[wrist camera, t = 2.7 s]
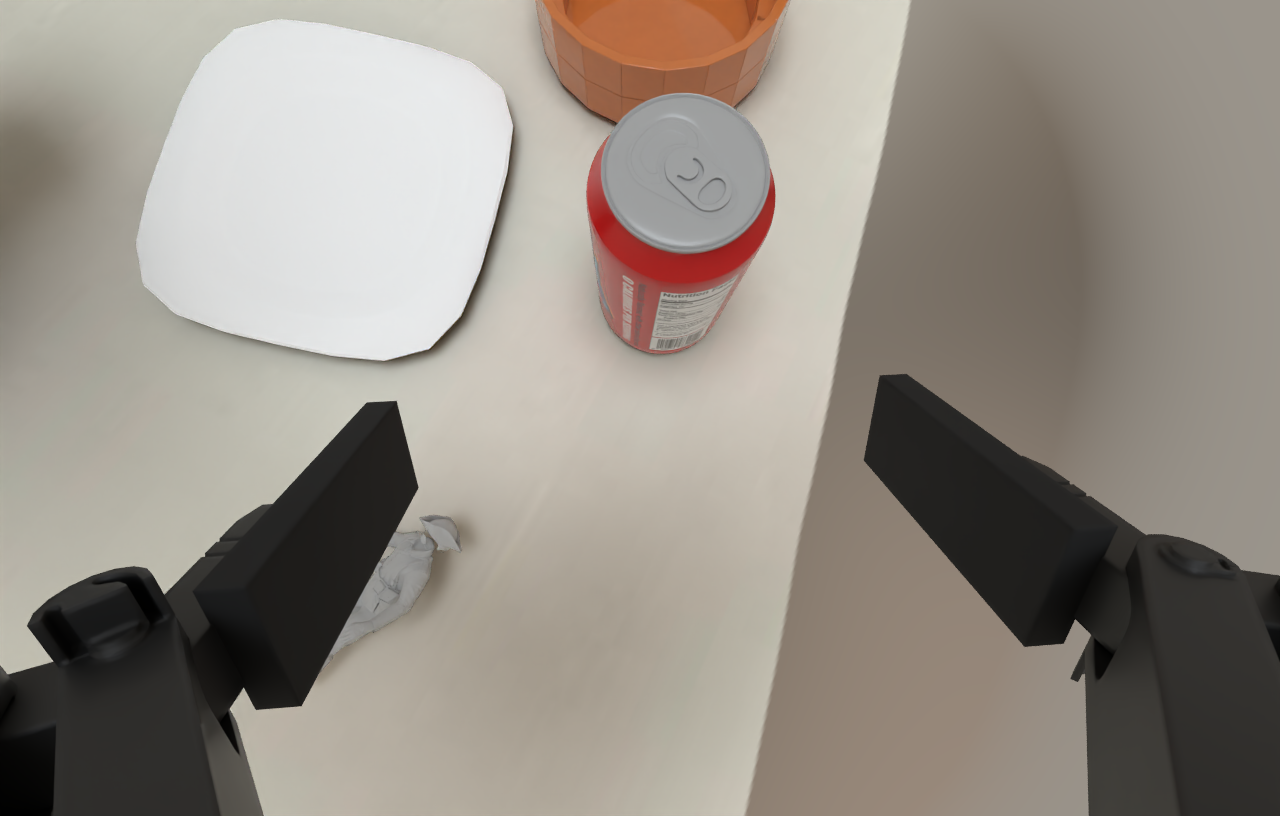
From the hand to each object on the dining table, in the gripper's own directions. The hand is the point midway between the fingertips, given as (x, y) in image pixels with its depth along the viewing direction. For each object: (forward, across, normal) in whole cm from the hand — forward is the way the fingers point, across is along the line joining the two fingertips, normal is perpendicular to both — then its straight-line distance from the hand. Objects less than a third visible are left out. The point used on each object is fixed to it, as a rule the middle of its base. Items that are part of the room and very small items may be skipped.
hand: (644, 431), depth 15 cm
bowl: (+32, +4, +15) cm, 36 cm away
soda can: (+22, +3, -2) cm, 22 cm away
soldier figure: (+12, -15, -17) cm, 26 cm away
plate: (+26, -18, +5) cm, 32 cm away
